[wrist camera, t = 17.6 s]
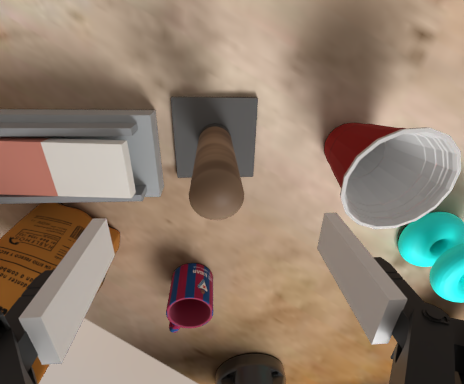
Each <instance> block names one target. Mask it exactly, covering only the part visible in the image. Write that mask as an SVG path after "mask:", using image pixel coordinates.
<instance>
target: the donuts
mask: <svg viewBox="0 0 464 384" xmlns="http://www.w3.org/2000/svg"><path fill="white" fill-rule="evenodd" d="M398 249H399V252H400V254H401V256H402V257H403V258H404V259H405V260H406V261H407V262H409V263H411V264H413V265H416V266H422V267H428V266H432V268H431V271H430V283H431V286H432V288H433V290H434V291H435V292H436V293H437V294H438V295H439V296H440V297H442V298H444V299H446V300H449V301H452V302H464V222H463V221H462V220H461V219H460V218H459V217H457V216H456V215H454V214H451V213H448V212H432V213H428V214H426V215H424V216H423V217H421V218H420V219H418V220H417V221H414V222H411V223H409V224H408V225H407V226H406V227H405V229H404V230H403V231H402V233H401V235H400V237H399V241H398Z"/></svg>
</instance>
